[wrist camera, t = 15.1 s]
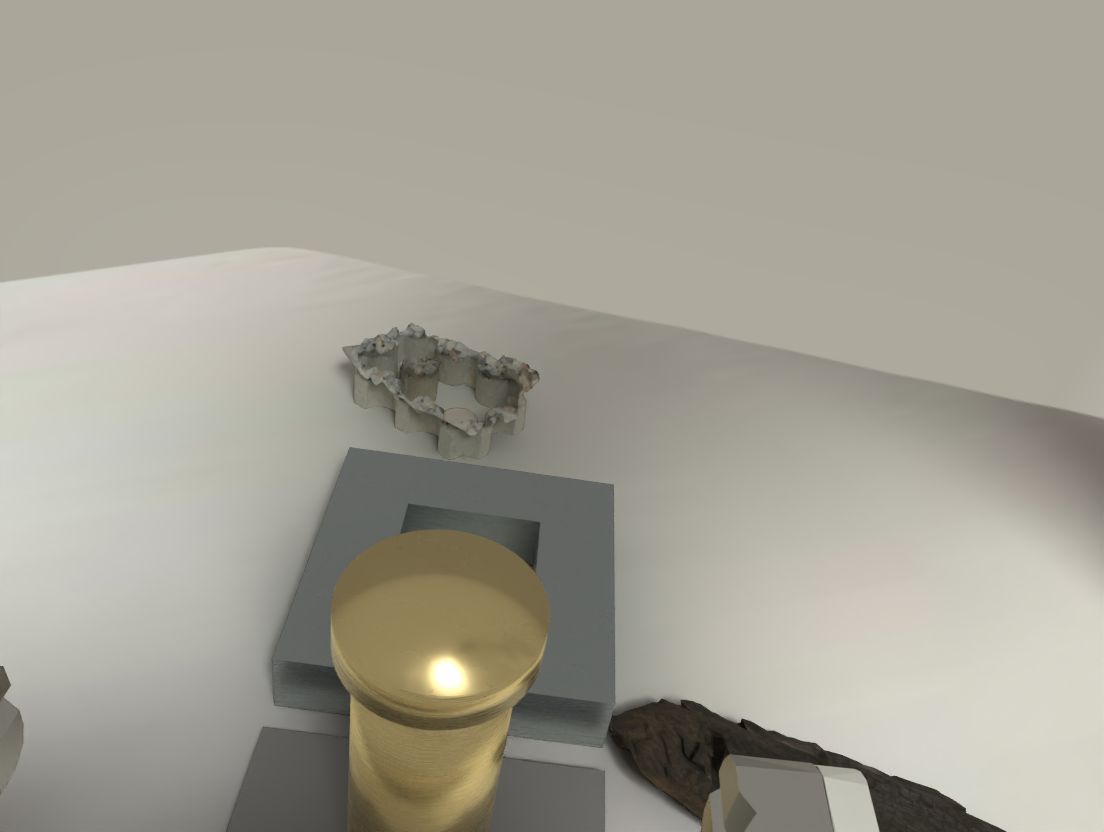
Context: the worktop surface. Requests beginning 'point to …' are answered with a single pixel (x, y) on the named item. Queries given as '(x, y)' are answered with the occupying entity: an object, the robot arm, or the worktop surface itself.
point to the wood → (706, 739)
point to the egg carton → (418, 388)
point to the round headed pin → (433, 675)
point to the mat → (322, 790)
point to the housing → (491, 512)
